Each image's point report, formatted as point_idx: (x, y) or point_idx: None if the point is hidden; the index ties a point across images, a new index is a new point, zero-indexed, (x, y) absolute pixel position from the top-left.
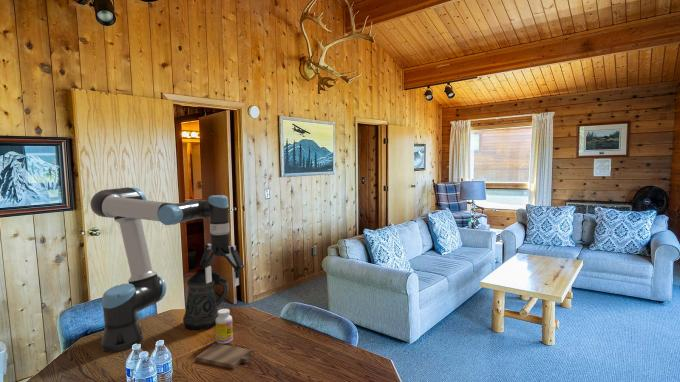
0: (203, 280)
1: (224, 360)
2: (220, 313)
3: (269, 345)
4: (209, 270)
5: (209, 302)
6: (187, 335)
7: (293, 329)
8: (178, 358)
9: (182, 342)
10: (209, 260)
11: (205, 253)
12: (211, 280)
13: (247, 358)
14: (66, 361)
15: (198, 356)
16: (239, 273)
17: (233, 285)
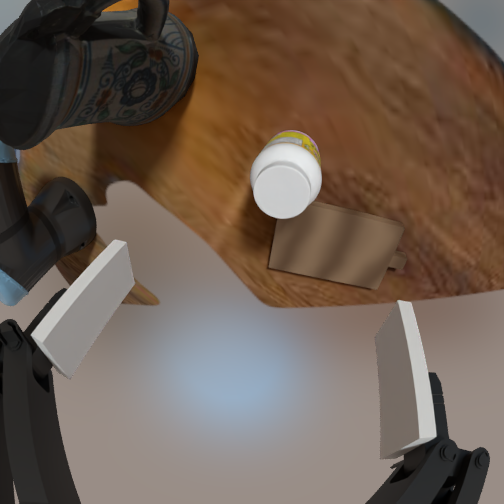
0: (31, 112)
1: (349, 276)
2: (280, 218)
3: (441, 178)
4: (73, 333)
5: (134, 79)
6: (156, 146)
7: (483, 80)
8: (220, 254)
9: (172, 184)
10: (63, 457)
11: (8, 480)
12: (122, 250)
13: (403, 266)
14: (66, 270)
15: (274, 265)
16: (440, 410)
17: (376, 343)
